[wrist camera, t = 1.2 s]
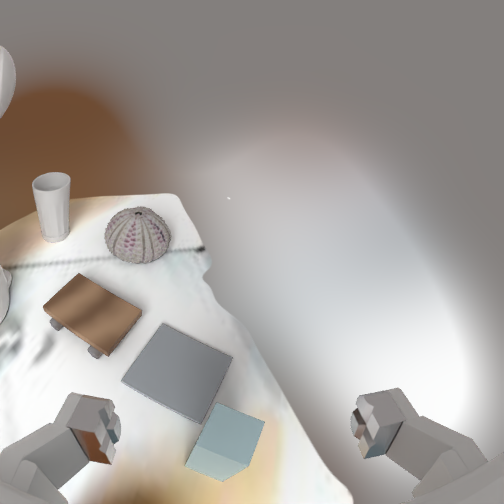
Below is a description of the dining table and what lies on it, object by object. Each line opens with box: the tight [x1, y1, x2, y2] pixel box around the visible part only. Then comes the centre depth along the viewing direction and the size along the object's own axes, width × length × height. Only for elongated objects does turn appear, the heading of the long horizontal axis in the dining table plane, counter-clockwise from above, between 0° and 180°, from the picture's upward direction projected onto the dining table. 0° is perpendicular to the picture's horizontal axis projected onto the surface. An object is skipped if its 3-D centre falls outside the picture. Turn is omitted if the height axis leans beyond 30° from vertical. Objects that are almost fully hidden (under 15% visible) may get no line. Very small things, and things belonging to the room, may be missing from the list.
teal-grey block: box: [185, 402, 265, 482], centre depth 27 cm, size 5×5×12 cm
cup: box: [32, 172, 70, 243], centre depth 49 cm, size 8×8×12 cm
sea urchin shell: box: [105, 207, 171, 264], centre depth 55 cm, size 13×14×8 cm
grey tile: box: [121, 324, 233, 424], centre depth 40 cm, size 12×12×1 cm
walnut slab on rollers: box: [43, 273, 142, 359], centre depth 40 cm, size 13×10×3 cm
